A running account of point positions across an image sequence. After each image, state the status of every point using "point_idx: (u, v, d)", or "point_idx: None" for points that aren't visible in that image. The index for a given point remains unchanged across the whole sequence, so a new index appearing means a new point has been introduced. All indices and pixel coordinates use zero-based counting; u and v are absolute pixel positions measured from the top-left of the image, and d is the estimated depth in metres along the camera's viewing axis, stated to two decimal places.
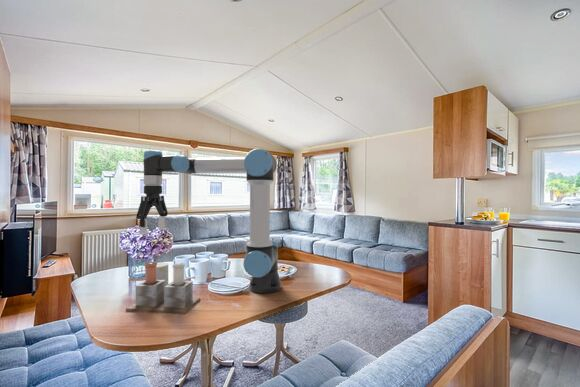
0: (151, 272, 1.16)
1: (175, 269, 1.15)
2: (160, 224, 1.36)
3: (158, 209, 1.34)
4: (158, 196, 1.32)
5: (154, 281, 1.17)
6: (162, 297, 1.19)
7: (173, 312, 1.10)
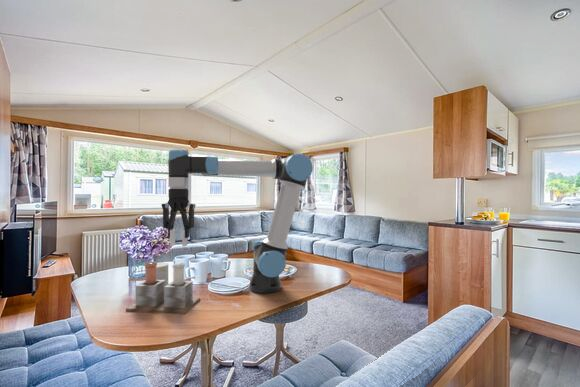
0: (151, 272, 1.16)
1: (175, 269, 1.15)
2: None
3: None
4: (183, 200, 1.15)
5: (154, 281, 1.17)
6: (162, 297, 1.19)
7: (173, 312, 1.10)
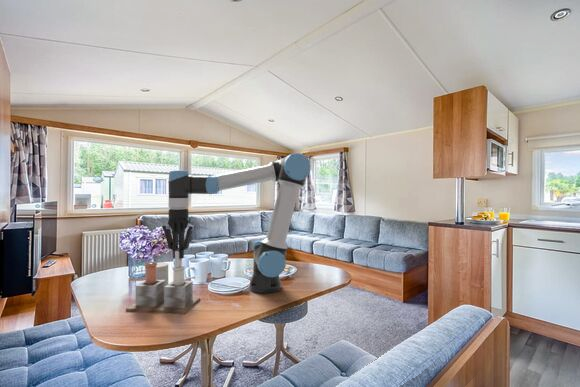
0: (151, 272, 1.16)
1: (175, 272, 1.15)
2: None
3: None
4: (184, 220, 1.15)
5: (154, 281, 1.17)
6: (162, 297, 1.19)
7: (173, 312, 1.10)
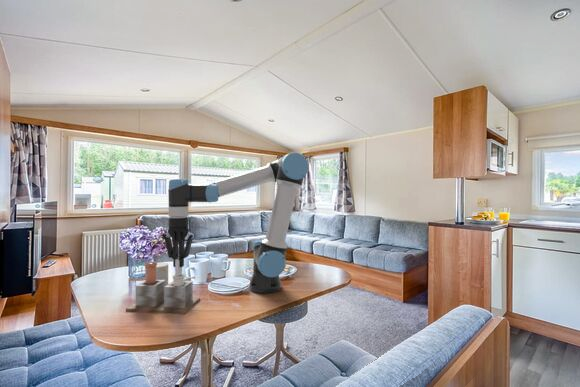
0: (151, 272, 1.16)
1: (175, 280, 1.15)
2: None
3: None
4: (184, 229, 1.15)
5: (154, 281, 1.17)
6: (162, 297, 1.19)
7: (173, 312, 1.10)
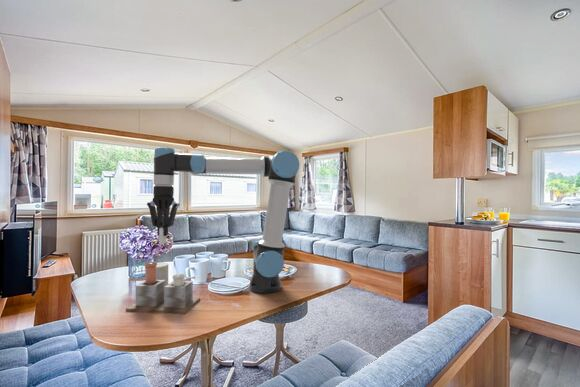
0: (151, 272, 1.16)
1: (175, 280, 1.15)
2: None
3: None
4: (169, 198, 1.15)
5: (154, 281, 1.17)
6: (162, 297, 1.19)
7: (173, 312, 1.10)
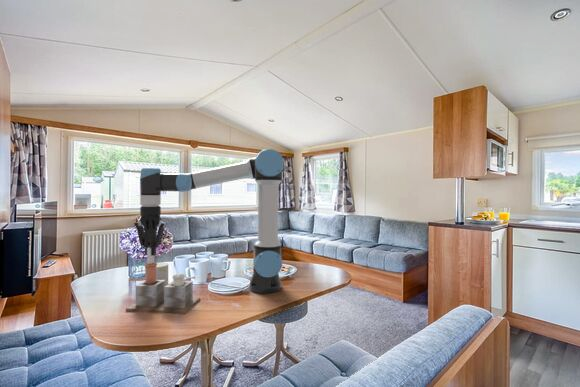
0: (151, 272, 1.16)
1: (175, 280, 1.15)
2: None
3: None
4: (156, 218, 1.16)
5: (154, 281, 1.17)
6: (162, 297, 1.19)
7: (173, 312, 1.10)
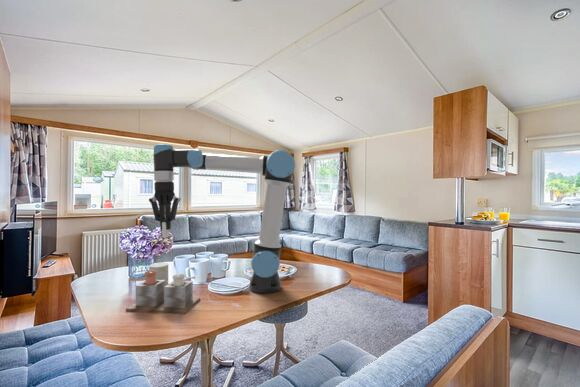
0: (151, 280, 1.16)
1: (175, 280, 1.15)
2: None
3: None
4: (170, 193, 1.20)
5: None
6: (162, 297, 1.19)
7: (173, 312, 1.10)
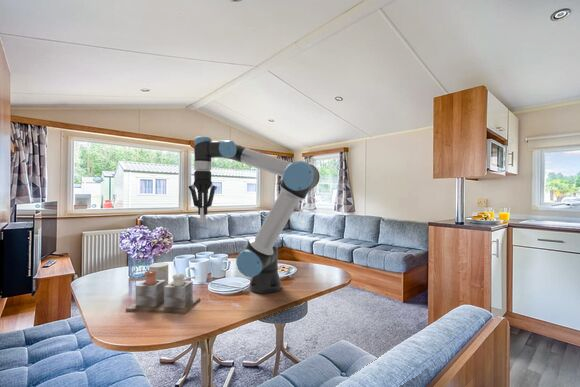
0: (151, 280, 1.16)
1: (175, 280, 1.15)
2: None
3: None
4: (208, 181, 1.31)
5: None
6: (162, 297, 1.19)
7: (173, 312, 1.10)
